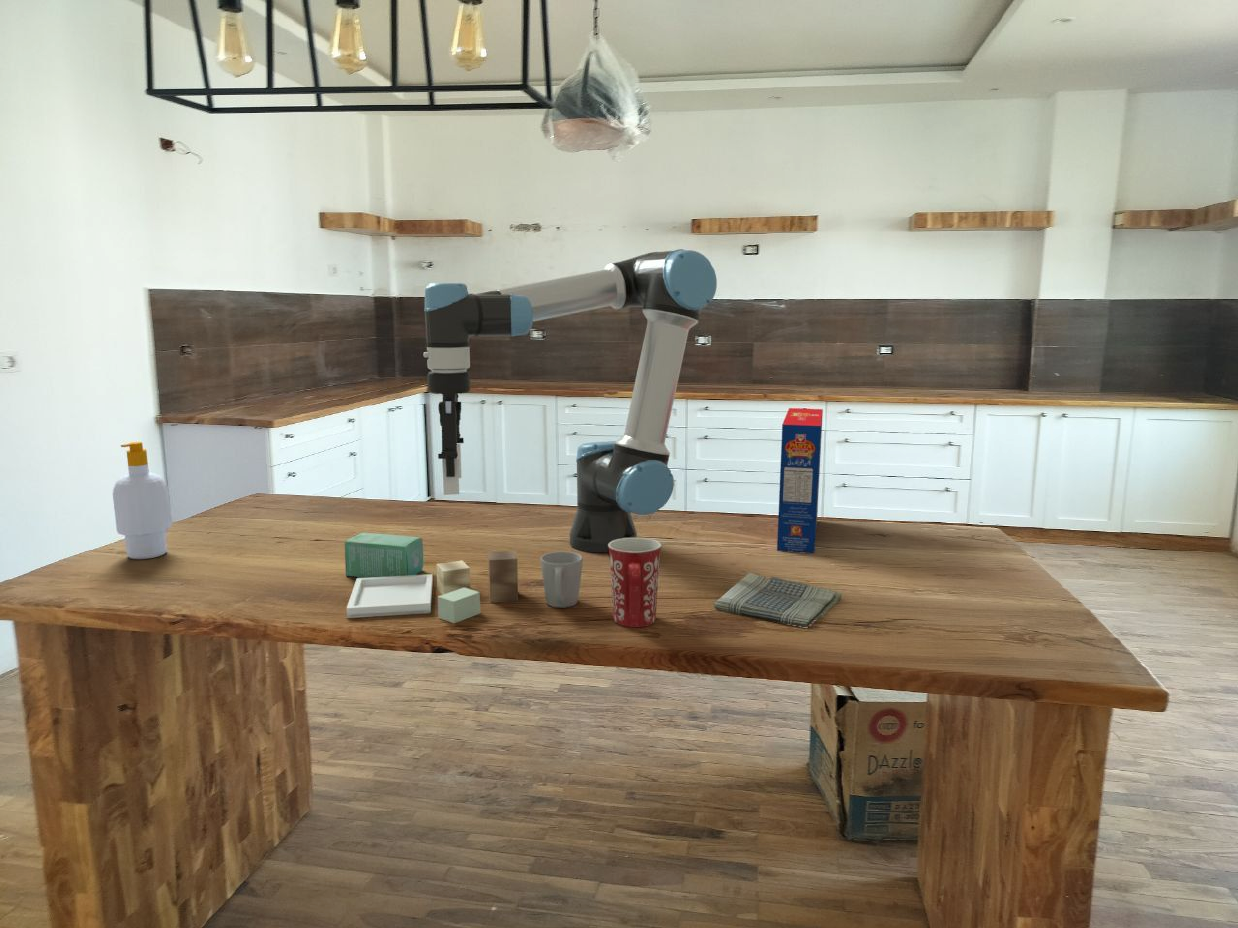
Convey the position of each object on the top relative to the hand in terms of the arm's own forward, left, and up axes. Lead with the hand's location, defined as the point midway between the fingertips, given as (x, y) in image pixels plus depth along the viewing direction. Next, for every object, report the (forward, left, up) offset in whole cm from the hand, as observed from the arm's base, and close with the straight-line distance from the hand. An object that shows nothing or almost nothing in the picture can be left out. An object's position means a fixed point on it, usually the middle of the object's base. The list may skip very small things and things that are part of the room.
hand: (452, 485), depth 158 cm
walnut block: (-8, +6, -20) cm, 23 cm away
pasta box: (-78, -24, -20) cm, 85 cm away
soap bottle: (+65, -33, -20) cm, 75 cm away
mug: (-29, +23, -20) cm, 43 cm away
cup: (-18, +12, -20) cm, 30 cm away
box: (+14, -11, -20) cm, 27 cm away
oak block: (+1, +1, -20) cm, 20 cm away
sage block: (0, +14, -20) cm, 25 cm away
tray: (+12, +4, -20) cm, 23 cm away
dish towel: (-57, +18, -21) cm, 64 cm away
